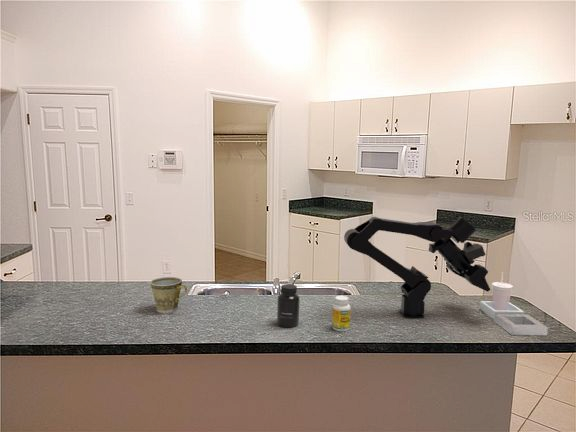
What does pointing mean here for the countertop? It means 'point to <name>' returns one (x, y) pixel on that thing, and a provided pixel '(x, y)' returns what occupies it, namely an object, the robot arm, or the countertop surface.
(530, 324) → the bore block
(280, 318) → the supplement bottle
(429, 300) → the countertop surface
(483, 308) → the tray
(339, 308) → the supplement bottle
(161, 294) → the ceramic cup
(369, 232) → the robot arm
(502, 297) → the smoothie
